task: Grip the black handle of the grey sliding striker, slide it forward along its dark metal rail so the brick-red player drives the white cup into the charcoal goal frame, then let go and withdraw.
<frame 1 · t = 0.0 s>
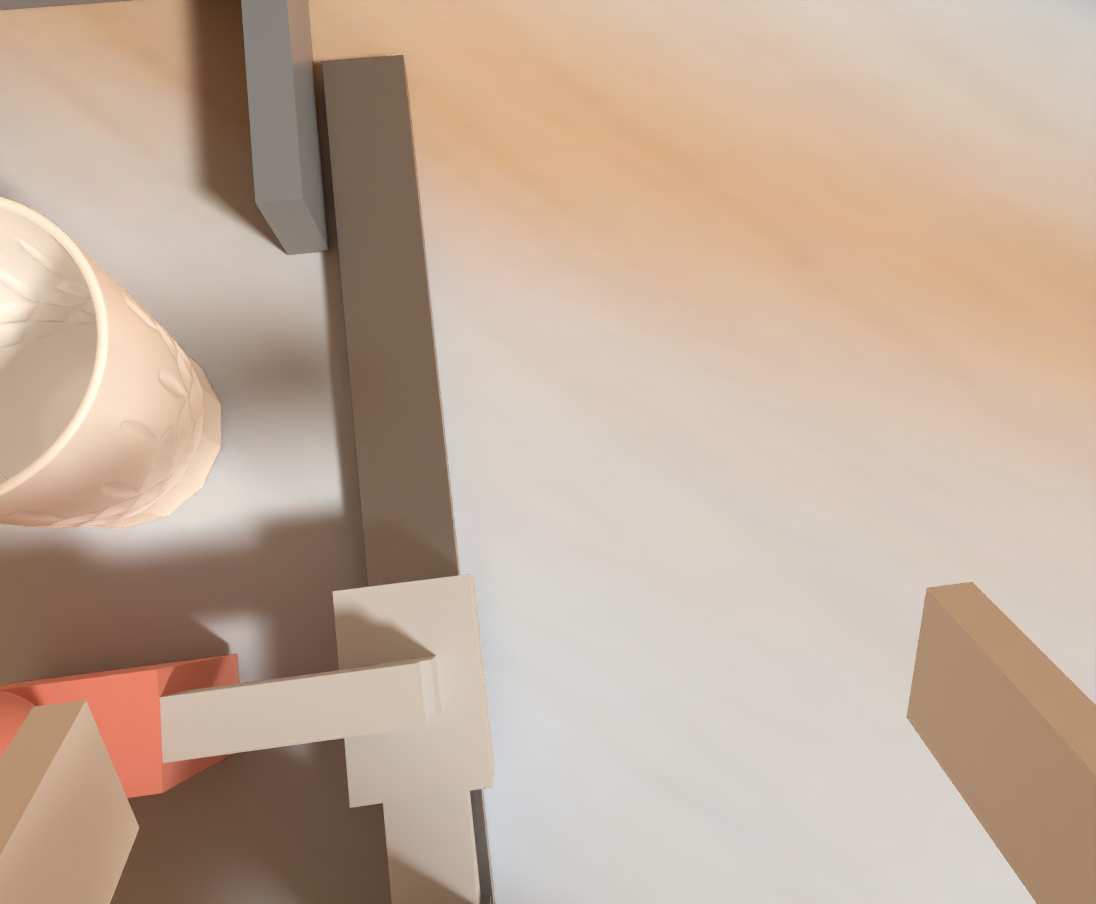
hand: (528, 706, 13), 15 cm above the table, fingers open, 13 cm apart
white cup: (128, 433, 29), on the table
goal frame: (114, 132, 31), on the table
striker slider: (181, 869, 20), point 7 cm above the table, slide at 0.0 cm
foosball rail: (404, 457, 29), on the table
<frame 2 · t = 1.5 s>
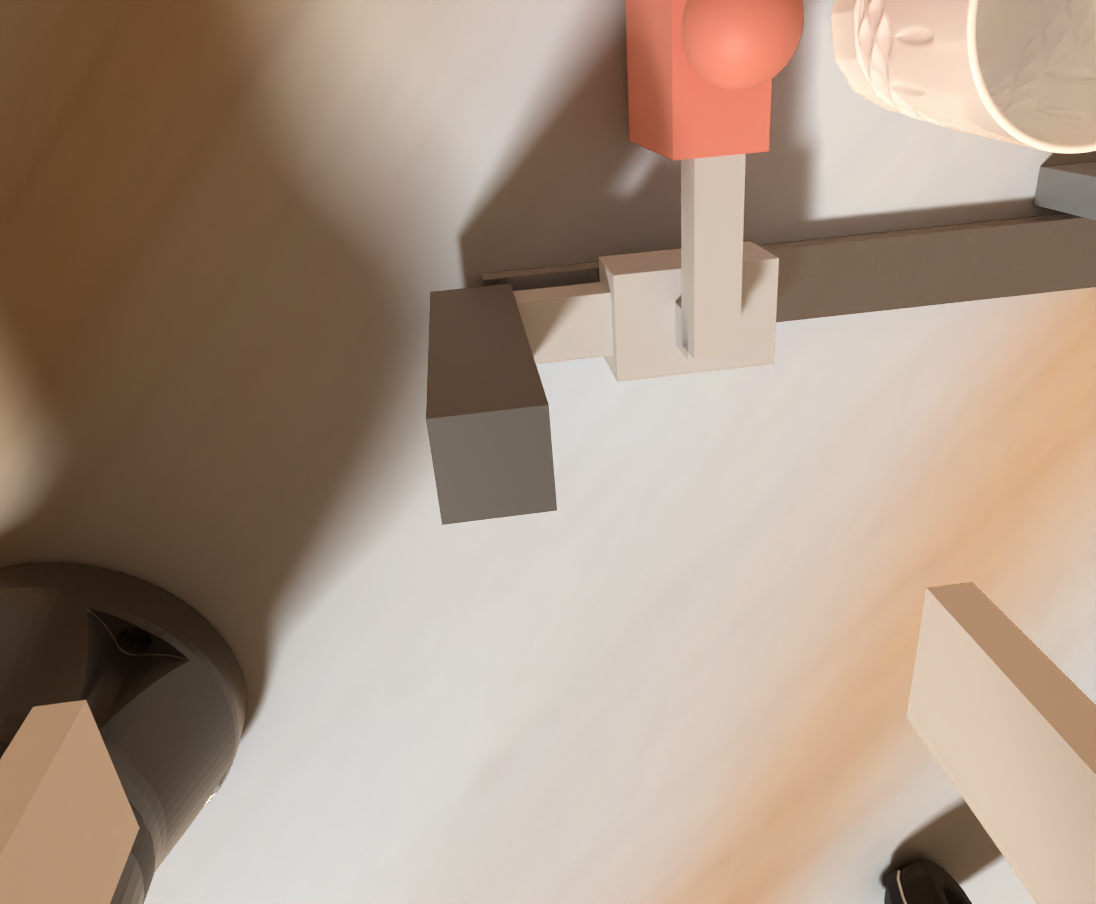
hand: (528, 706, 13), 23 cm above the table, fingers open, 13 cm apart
white cup: (913, 11, 31), on the table
striker slider: (618, 184, 25), point 7 cm above the table, slide at 0.0 cm
headphones: (996, 816, 51), on the table
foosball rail: (843, 272, 35), on the table
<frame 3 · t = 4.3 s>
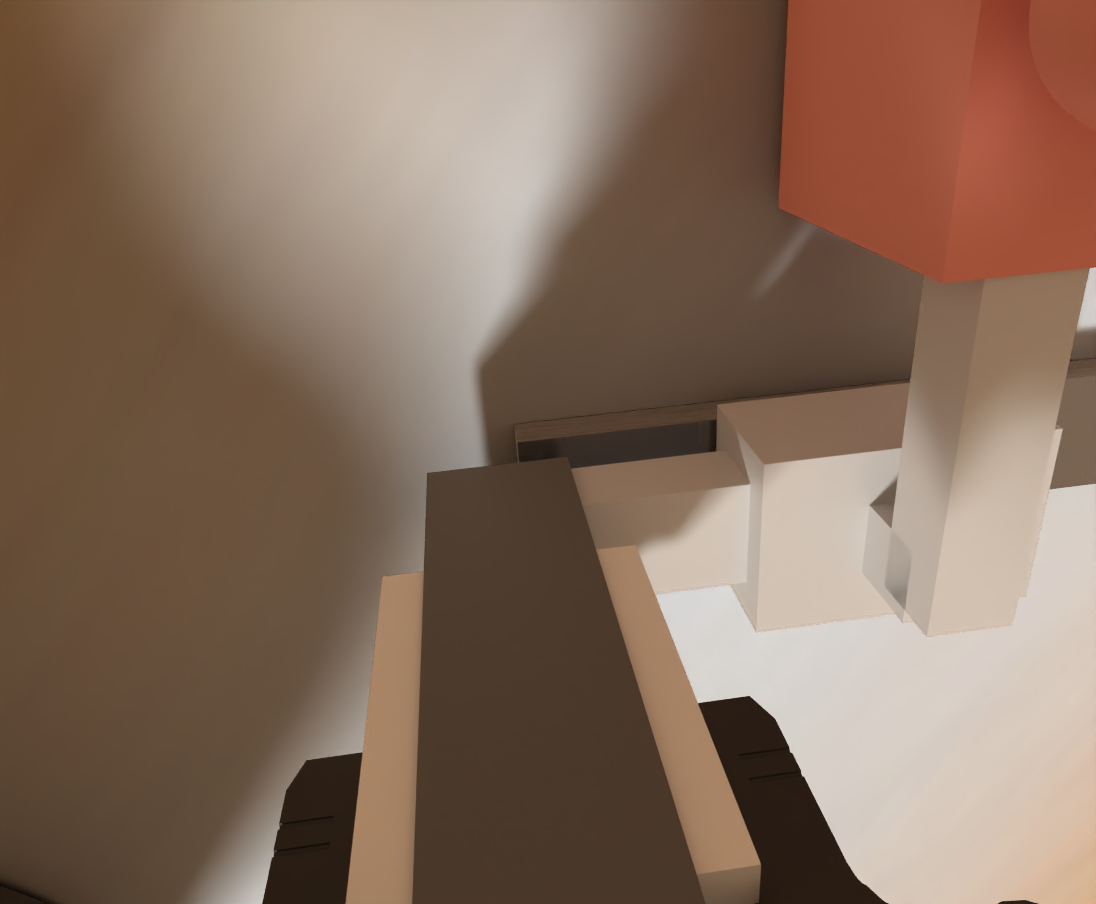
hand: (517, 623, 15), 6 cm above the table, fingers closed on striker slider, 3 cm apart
striker slider: (830, 337, 12), point 7 cm above the table, slide at 0.0 cm, touching gripper
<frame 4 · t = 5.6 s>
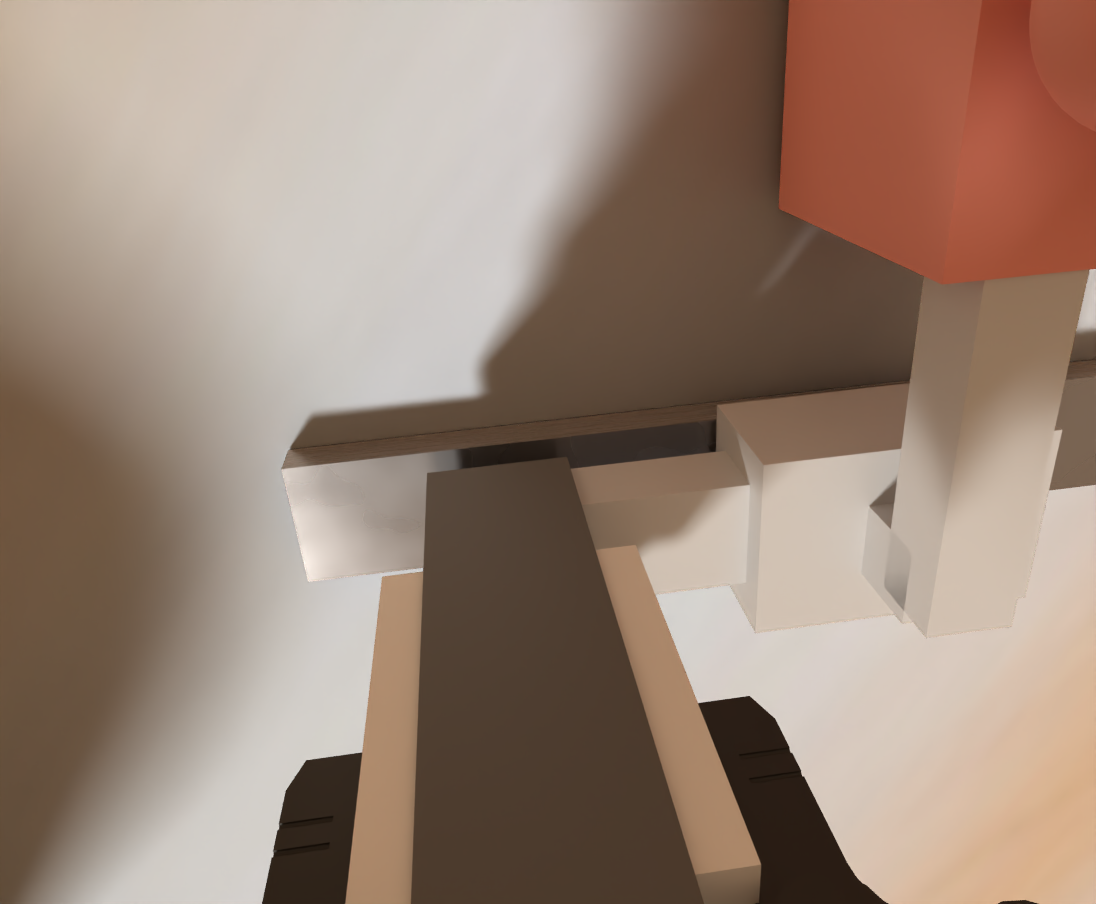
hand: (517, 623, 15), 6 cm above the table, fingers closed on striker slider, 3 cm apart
striker slider: (830, 338, 12), point 7 cm above the table, slide at 5.2 cm, touching white cup, gripper
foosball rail: (904, 435, 21), on the table
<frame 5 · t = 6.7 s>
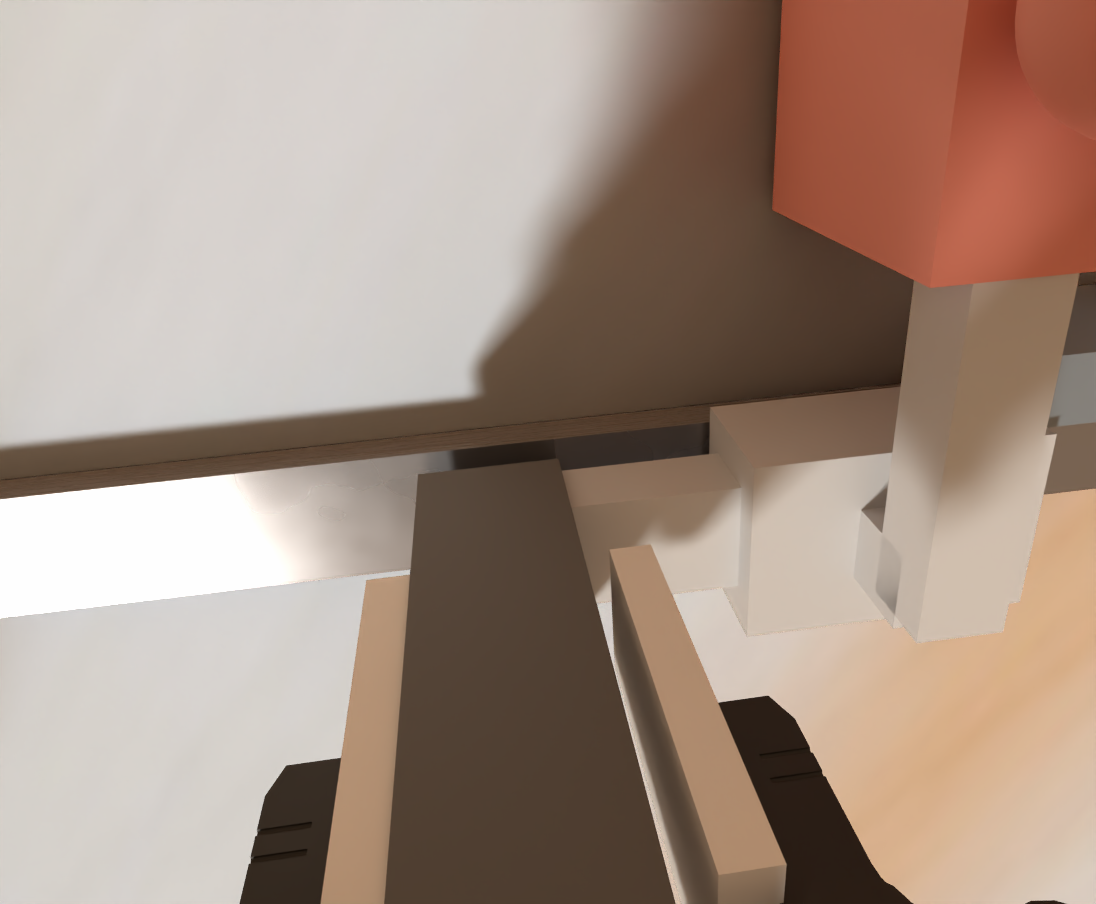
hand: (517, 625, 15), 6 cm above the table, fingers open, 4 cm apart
striker slider: (816, 342, 11), point 7 cm above the table, slide at 12.5 cm, touching white cup, goal frame, gripper
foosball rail: (613, 470, 20), on the table
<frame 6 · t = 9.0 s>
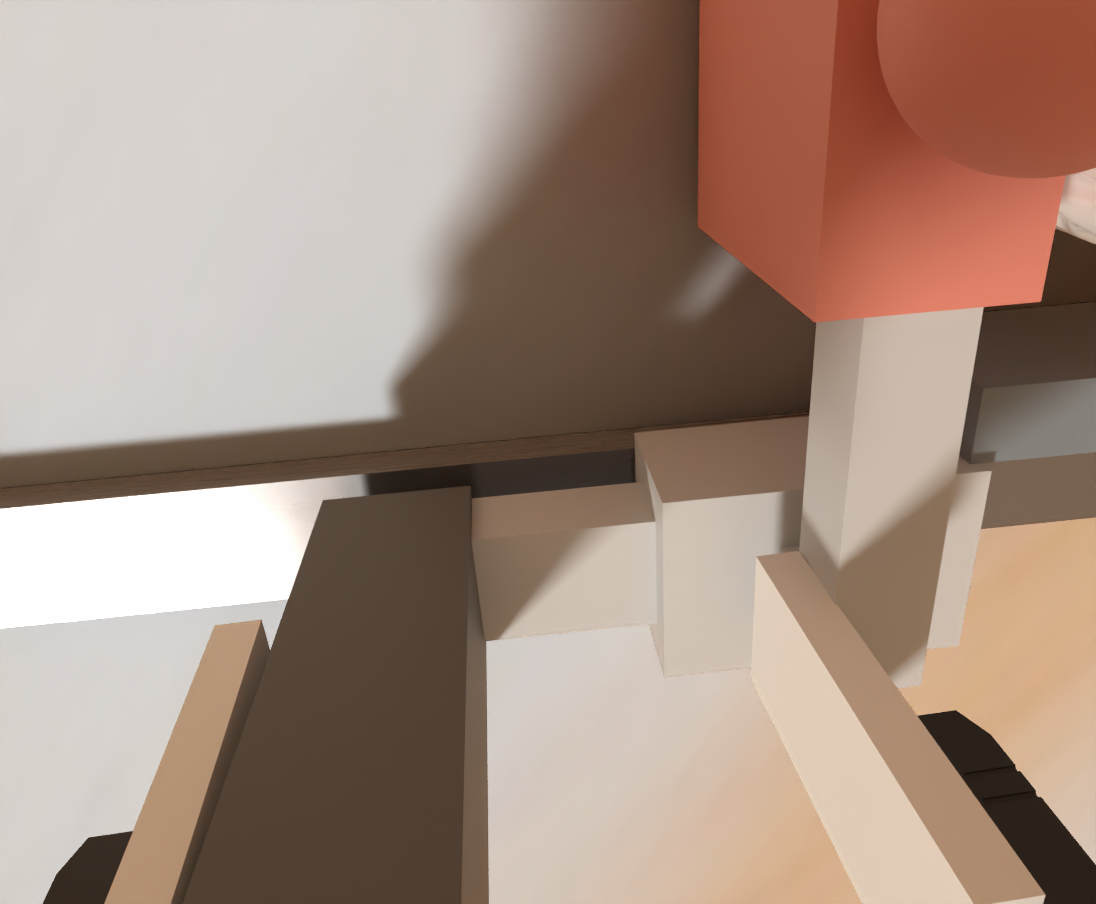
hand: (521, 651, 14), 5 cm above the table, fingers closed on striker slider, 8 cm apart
white cup: (1030, 5, 16), on the table, touching striker slider
striker slider: (686, 380, 11), point 7 cm above the table, slide at 12.7 cm, touching white cup, goal frame, gripper
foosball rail: (532, 496, 19), on the table
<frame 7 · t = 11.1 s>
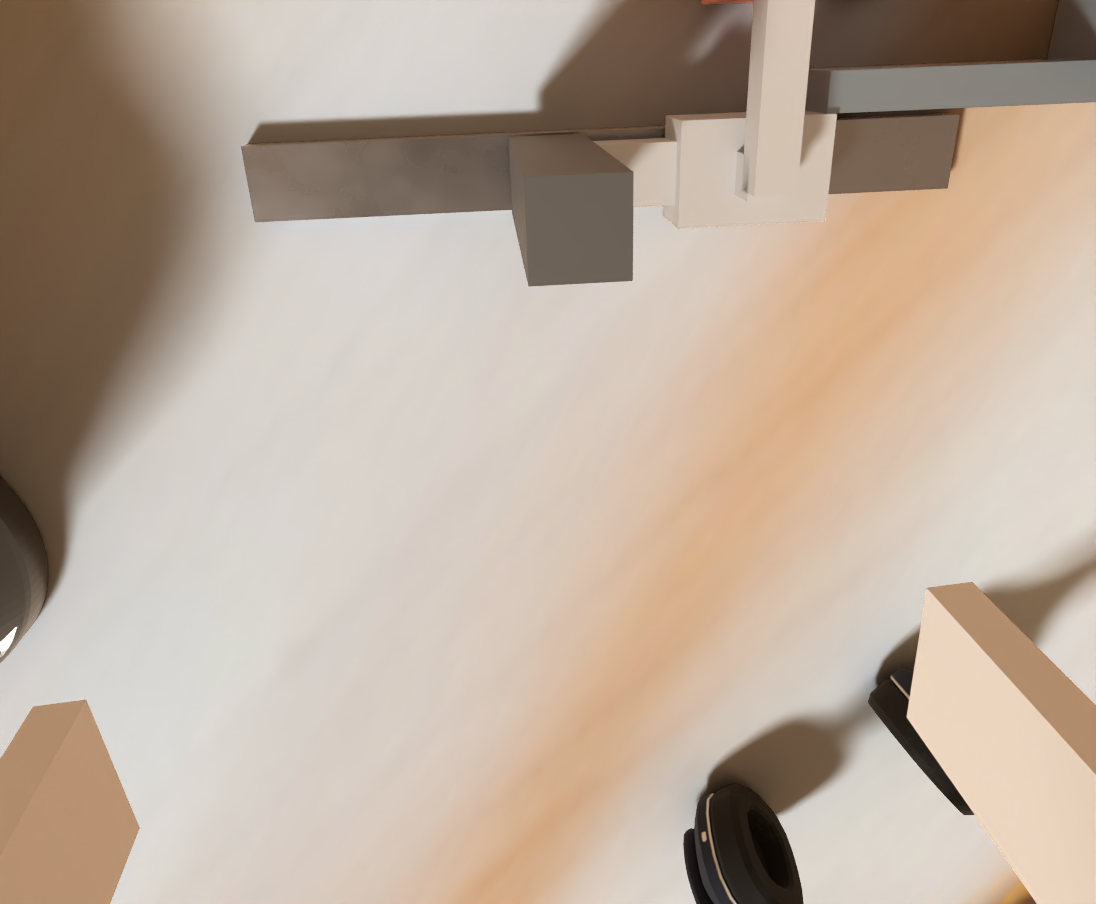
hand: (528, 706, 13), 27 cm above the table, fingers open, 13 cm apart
striker slider: (698, 12, 27), point 7 cm above the table, slide at 12.8 cm, touching white cup, goal frame
headphones: (812, 745, 52), on the table
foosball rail: (605, 165, 36), on the table
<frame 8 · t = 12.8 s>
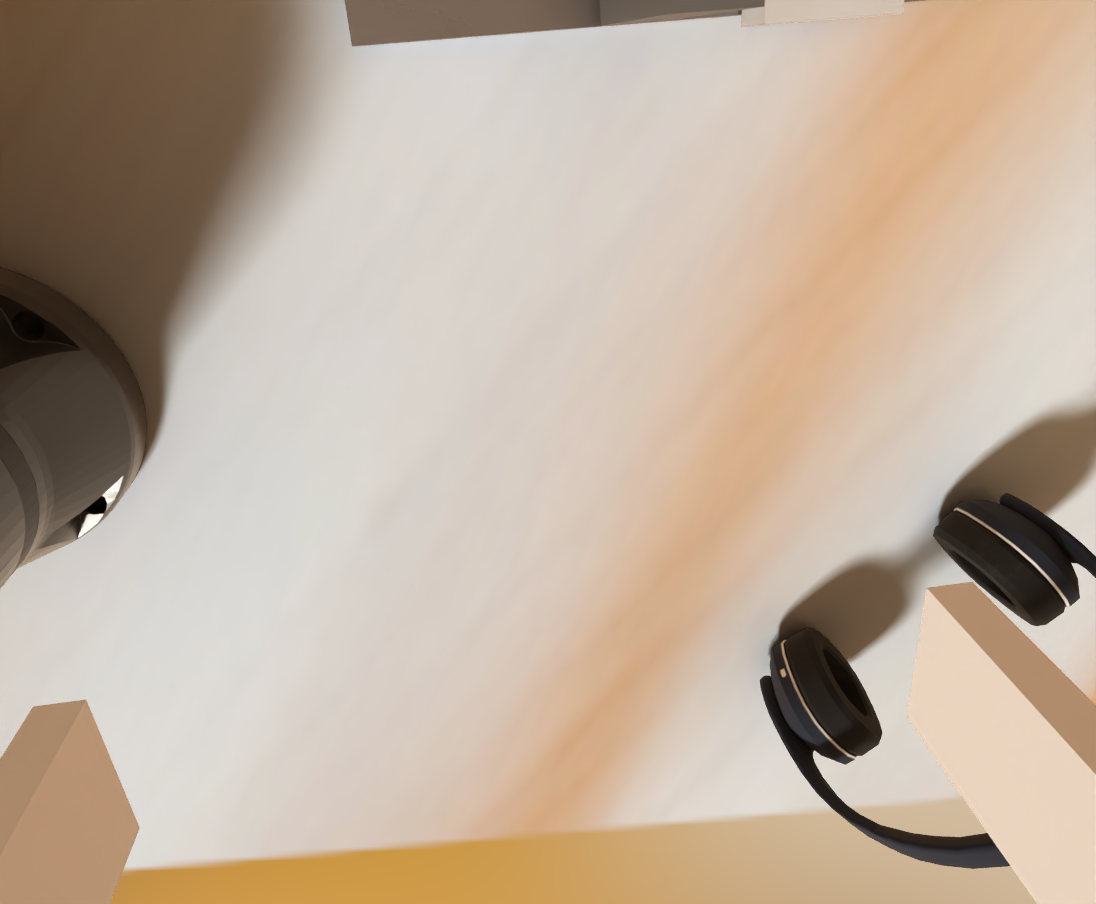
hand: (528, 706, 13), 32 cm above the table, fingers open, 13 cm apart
headphones: (877, 589, 54), on the table
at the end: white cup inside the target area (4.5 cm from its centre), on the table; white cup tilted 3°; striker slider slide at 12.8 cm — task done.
